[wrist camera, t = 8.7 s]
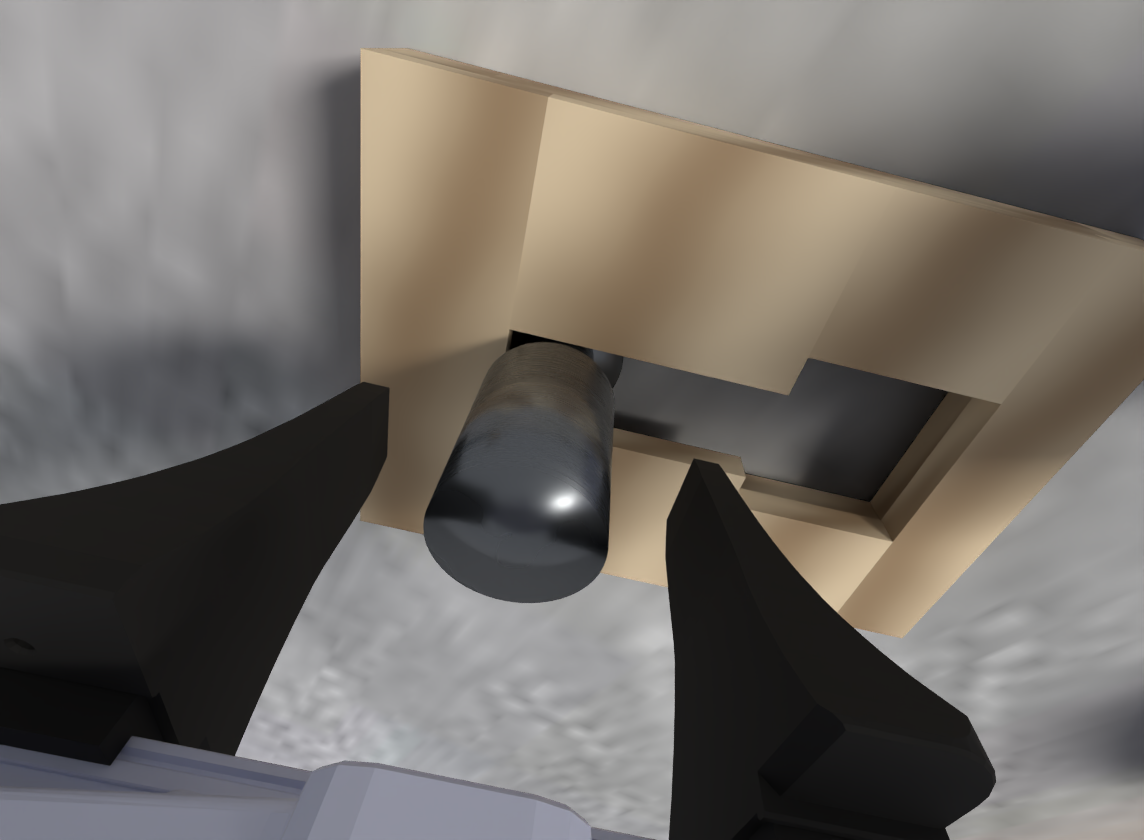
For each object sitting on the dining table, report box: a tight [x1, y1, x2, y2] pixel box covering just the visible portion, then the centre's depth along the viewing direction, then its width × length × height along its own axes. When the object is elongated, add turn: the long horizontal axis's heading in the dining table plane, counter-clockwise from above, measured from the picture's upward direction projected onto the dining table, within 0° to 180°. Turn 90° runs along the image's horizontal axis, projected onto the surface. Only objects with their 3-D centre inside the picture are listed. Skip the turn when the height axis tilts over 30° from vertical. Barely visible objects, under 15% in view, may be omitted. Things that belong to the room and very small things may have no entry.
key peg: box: [423, 330, 623, 603], centre depth 14 cm, size 4×4×9 cm
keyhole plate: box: [360, 48, 1144, 638], centre depth 17 cm, size 20×14×3 cm
